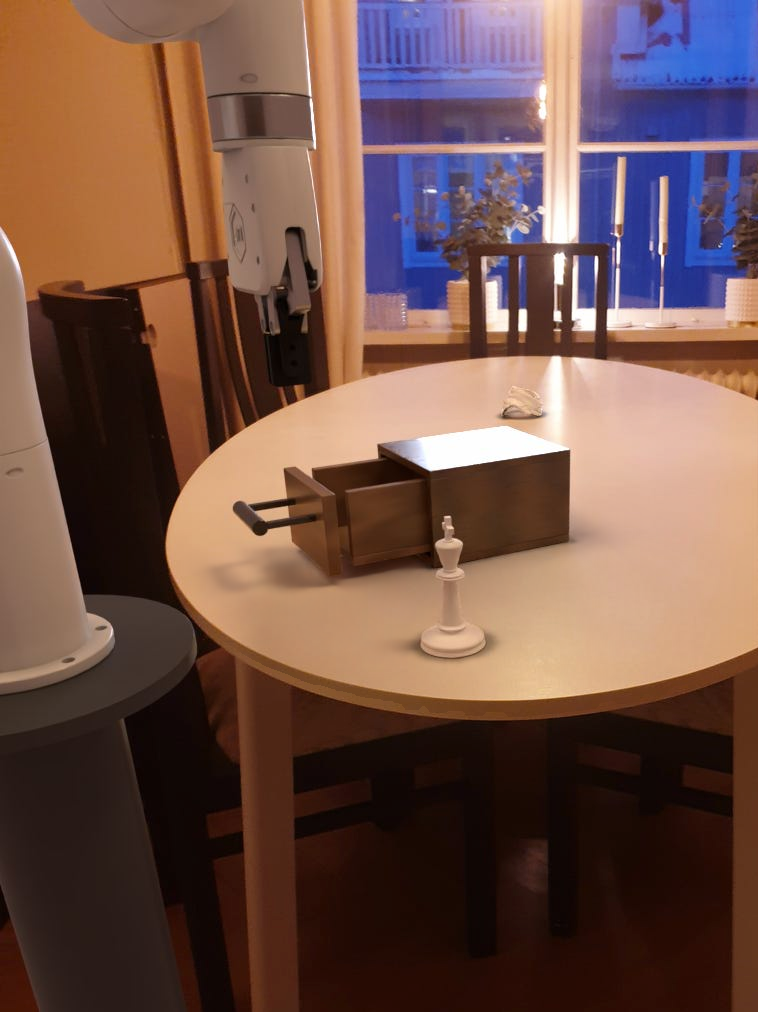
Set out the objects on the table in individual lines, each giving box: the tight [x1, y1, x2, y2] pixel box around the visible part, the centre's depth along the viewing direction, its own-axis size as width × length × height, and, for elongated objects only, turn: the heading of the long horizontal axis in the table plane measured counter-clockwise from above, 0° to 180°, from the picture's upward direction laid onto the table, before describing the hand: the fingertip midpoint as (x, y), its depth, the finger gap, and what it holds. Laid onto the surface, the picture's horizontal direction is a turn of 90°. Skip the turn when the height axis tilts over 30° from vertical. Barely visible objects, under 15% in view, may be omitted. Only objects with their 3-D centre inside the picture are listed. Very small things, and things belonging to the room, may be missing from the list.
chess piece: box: [420, 516, 486, 659], centre depth 68 cm, size 5×5×10 cm
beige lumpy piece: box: [500, 385, 544, 417], centre depth 147 cm, size 8×7×5 cm
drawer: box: [232, 457, 430, 578], centre depth 86 cm, size 19×11×7 cm, turn 117°
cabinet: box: [376, 425, 571, 569], centre depth 92 cm, size 15×13×9 cm
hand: (290, 383), depth 76 cm, fingers closed
